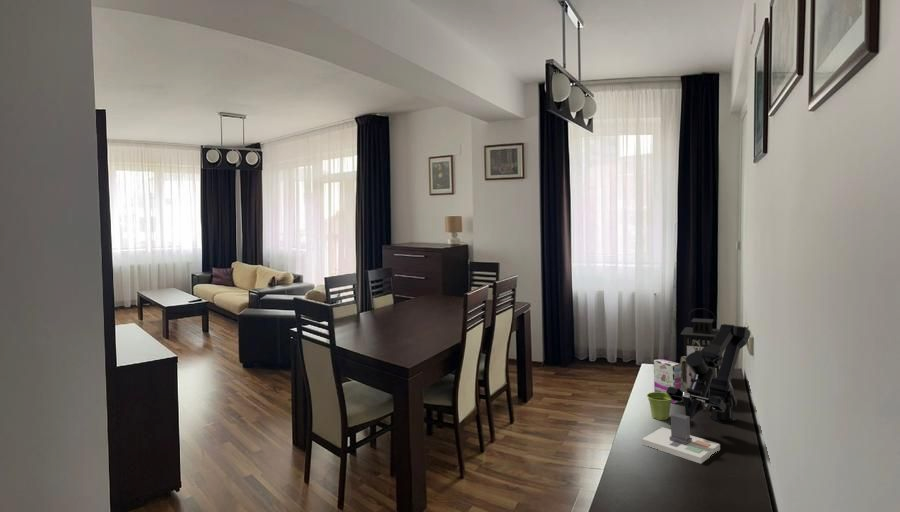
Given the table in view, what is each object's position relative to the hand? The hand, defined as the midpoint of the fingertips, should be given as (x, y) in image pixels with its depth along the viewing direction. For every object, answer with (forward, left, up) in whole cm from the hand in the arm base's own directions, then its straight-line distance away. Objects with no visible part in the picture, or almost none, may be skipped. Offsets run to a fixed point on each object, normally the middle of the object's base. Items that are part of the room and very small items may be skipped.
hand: (687, 420), depth 172 cm
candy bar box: (-21, -38, -8) cm, 44 cm away
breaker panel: (+5, +3, -8) cm, 10 cm away
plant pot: (-5, -22, -8) cm, 24 cm away
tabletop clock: (-33, -34, -8) cm, 48 cm away
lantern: (-53, -54, -8) cm, 76 cm away
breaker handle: (+5, +2, -6) cm, 8 cm away
